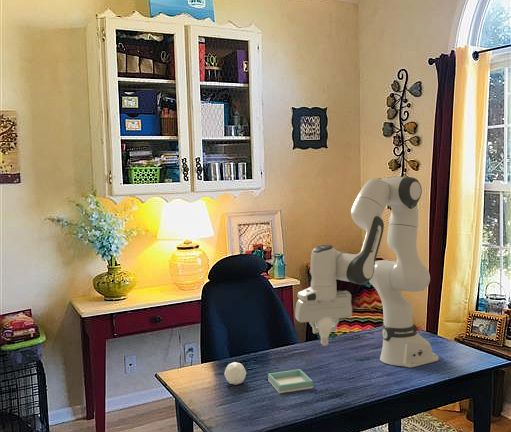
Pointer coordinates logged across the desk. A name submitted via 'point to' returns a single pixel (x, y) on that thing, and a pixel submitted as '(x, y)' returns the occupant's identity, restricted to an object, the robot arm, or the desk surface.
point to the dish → (290, 381)
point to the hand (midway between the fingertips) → (324, 332)
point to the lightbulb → (324, 329)
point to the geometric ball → (235, 373)
